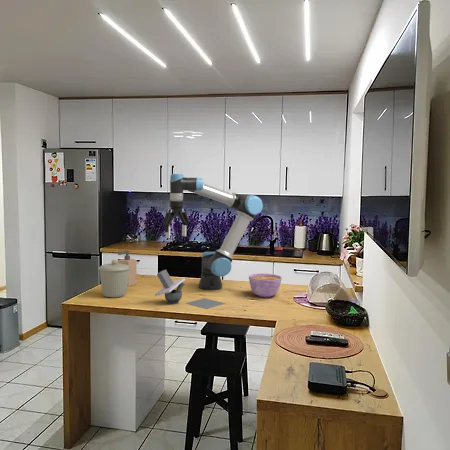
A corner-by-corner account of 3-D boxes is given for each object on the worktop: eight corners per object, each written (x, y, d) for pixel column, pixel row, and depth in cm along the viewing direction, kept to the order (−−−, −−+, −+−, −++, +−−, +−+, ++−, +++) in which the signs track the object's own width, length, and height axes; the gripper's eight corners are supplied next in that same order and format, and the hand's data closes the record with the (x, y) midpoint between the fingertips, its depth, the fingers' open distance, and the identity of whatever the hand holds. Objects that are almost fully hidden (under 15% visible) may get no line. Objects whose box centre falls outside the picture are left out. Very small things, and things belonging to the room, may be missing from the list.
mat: (204, 299, 257) (204, 298, 257) (225, 304, 247) (225, 303, 247) (184, 304, 244) (184, 303, 244) (206, 310, 234) (206, 309, 234)
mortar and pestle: (167, 306, 239) (167, 284, 237) (161, 302, 247) (162, 281, 246) (186, 305, 243) (187, 283, 242) (180, 300, 252) (181, 279, 251)
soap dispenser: (125, 282, 294) (126, 249, 292) (136, 284, 290) (136, 250, 288) (113, 286, 282) (113, 251, 280) (124, 288, 278) (124, 253, 277)
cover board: (170, 283, 253) (162, 268, 251) (185, 279, 244) (176, 263, 243) (155, 295, 244) (146, 280, 242) (169, 292, 235) (160, 276, 233)
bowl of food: (287, 296, 269) (288, 277, 268) (267, 301, 255) (268, 281, 254) (261, 290, 283) (262, 272, 282) (241, 295, 268) (241, 276, 267)
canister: (92, 295, 259) (92, 259, 257) (118, 290, 272) (119, 256, 270) (109, 301, 246) (109, 263, 245) (136, 296, 260) (137, 260, 258)
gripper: (165, 201, 247) (165, 239, 249) (195, 200, 267) (195, 235, 269) (156, 200, 252) (155, 238, 254) (186, 200, 271) (186, 234, 273)
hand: (176, 237), depth 261 cm, fingers open, 13 cm apart
